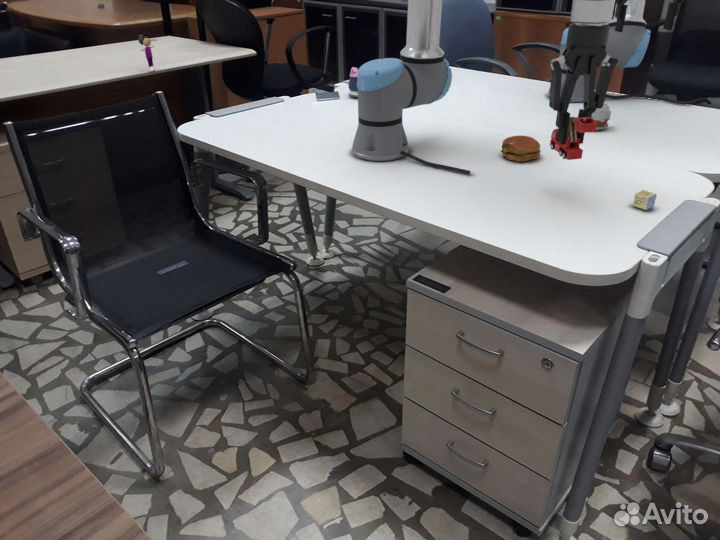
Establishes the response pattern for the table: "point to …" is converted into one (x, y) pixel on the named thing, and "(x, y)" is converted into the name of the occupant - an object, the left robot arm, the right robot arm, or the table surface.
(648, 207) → the alphabet block
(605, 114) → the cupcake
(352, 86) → the running shoe
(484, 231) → the table surface
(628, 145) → the table surface
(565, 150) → the toy fire truck
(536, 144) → the burger
